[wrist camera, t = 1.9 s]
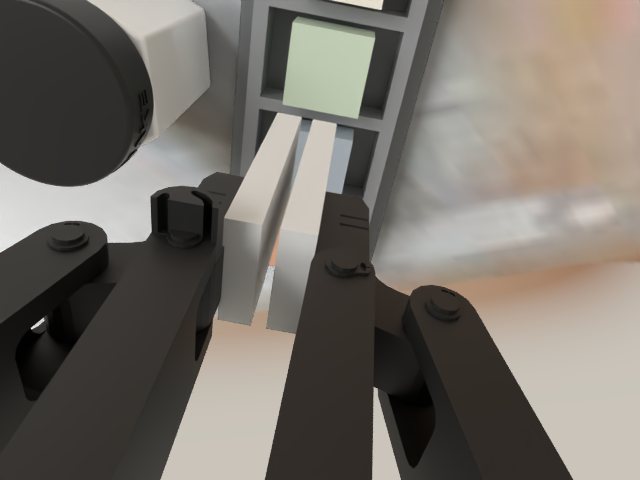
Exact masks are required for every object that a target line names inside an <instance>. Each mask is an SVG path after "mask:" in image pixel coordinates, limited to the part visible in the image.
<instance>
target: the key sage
mask: <svg viewBox="0 0 640 480" xmlns="http://www.w3.org/2000/svg"><path fill="white" fill-rule="evenodd" d="M374 41H375V31H370V30H365V29H360V28H355V27H350V26H345V25H339V24H334V23H329V22H324V21H319V20H314V19H309V18H304V17H299V16H297V18H296V19H295V20H294V21H293V23H292V31H291V39H290V47H289V55H288V63H287V71H286V79H285V88H284V96H283V105H288V106H293V107H298V108H303V109H309V110H314V111H319V112H324V113H329V114H335V115H340V116H345V117H350V118H355V119H358V115H359V111H360V106H361V102H362V97H363V92H364V88H365V83H366V78H367V74H368V69H369V65H370V60H371V55H372V51H373V46H374Z"/></svg>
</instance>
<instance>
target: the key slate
mask: <svg viewBox="0 0 640 480" xmlns="http://www.w3.org/2000/svg"><path fill="white" fill-rule="evenodd" d="M311 125H312V121H310V120H305V119H301V125H300V132H299V139H298V145H297V152H296V159H295V166H294V172H293V179H292V186H291V191H292V188H293V185H294V181H295V178H296V175H297V171H298V168H299V165H300V161H301V158H302V155H303V151H304V148H305V145H306V141H307V138H308V135H309V131H310V128H311ZM353 134H354V129H352V128H347V127H341V126H336V132H335V138H334V144H333V150H332V156H331V162H330V168H329V174H328V180H327V186H326V191H327V192H332V193H338V194H342V190H343V185H344V180H345V176H346V171H347V166H348V162H349V157H350V153H351V148H352V143H353ZM290 195H291V193H290Z"/></svg>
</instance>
